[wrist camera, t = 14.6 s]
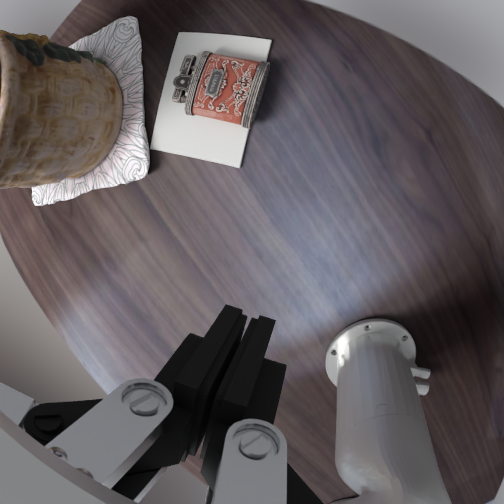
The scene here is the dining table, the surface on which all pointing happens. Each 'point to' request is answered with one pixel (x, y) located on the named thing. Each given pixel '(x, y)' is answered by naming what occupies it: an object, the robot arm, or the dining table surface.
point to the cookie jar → (72, 112)
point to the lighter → (221, 87)
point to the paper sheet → (198, 127)
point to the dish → (341, 500)
